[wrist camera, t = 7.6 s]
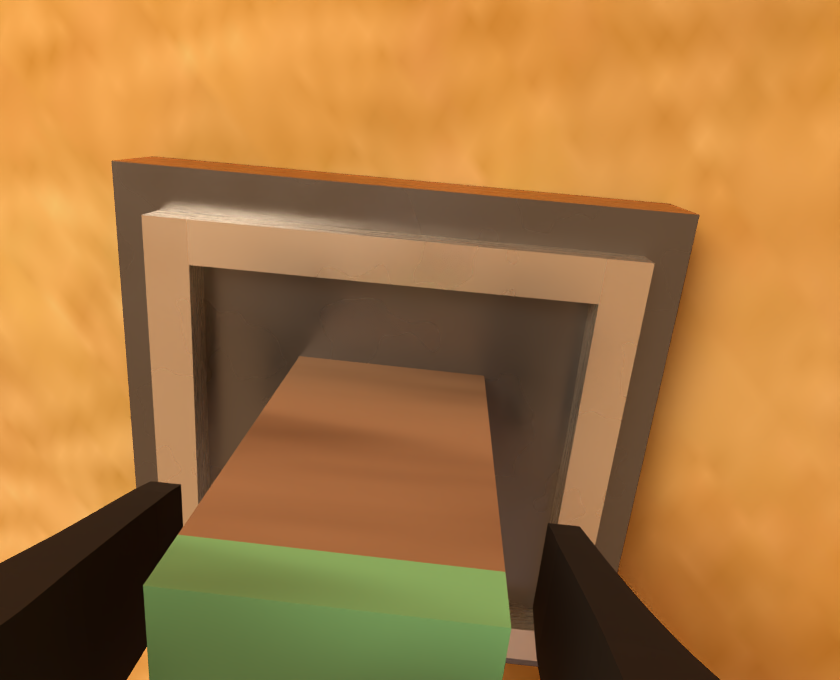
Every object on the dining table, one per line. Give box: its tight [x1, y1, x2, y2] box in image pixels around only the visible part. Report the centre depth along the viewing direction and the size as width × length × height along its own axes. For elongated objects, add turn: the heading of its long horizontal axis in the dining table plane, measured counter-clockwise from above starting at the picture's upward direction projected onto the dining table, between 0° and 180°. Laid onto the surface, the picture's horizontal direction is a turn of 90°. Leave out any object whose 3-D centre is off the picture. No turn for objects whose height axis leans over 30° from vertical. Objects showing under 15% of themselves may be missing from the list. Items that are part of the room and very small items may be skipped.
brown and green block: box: [143, 356, 511, 680], centre depth 12 cm, size 4×4×8 cm
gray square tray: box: [112, 157, 699, 667], centre depth 16 cm, size 13×13×3 cm
